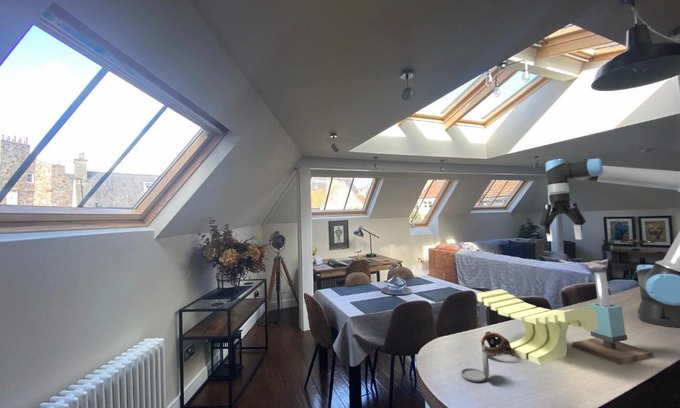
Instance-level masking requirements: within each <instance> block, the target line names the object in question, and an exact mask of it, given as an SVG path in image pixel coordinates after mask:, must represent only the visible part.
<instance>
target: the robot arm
mask: <svg viewBox="0 0 680 408" xmlns="http://www.w3.org/2000/svg"><path fill="white" fill-rule="evenodd" d="M545 174H546V175H545V177H546V182H547V189H548V192H547V193H548V194H549V195H548V197H549V198H548V199H549V203H550V204H549V203H548V204H544V205H543V206H544V207H543V208H544V210H543V213H542V215H541V218H540V221H539V225H540V226H542V227H543V228H544V232H545V233H544V234H546V239H547V242H554V241H555V240H554V238H555V237H554V231H553V226H551V225H552V223H553V222H554V220H555V219H556V217H557V216H558V215H560V214H562V215H566V216H567V217H568V219H570V220H571V221H572V222H573V230H574V237H575V240H583V234H582V233H583V226H582V225H585V223H587V222H586V219H585V218H584V216H583V214H582V212H581V211H580V209H579V208H578V203H576V202H572V203H570V202H571V195H570V193H569V192H570V187H569V180H573V179H576V180H577V181H580V182H598V183H608V184H617V185H625V186H627V185H628V186H636V187H644V188H645V187H647V188H655V189H663V190H672V191H677V192H678V193H680V170H679V171H677V170H676V171H675V170H667V169H666V170H664V169H653V168H639V167H626V166H625V167H624V166H613V165H612V166H610V165H603V163H602V159H601V158H598V157H597V158H589V159H584V160H577V161H571V162H566V160H565V159H563V158H559V159H557V158H556V159H552V160H551V159H550V160H548V161H546V163H545ZM635 271H636V273H637V274H636V275H637V279H638V280H637V281H638V288H639V294H640V304H639V306H638V310H637V318H639V319H638V320H640V321H643V322H644V321H645V323H648V324H652V325H657V326H661V327H664V326H665V327H670V326H671V328H672V327H673V328H680V230H679V231H678V233H677V235H676V236H675V238H674V240H673V242H672V244H671V245H670V247H669V249H668V251H667V253H666V254H665V256H664V258H663V259H662V260H658V261H655V262H654V263H653V264H638V265H637V266H636V270H635Z"/></svg>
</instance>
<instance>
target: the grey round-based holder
mask: <svg viewBox="0 0 680 408" xmlns="http://www.w3.org/2000/svg"><path fill="white" fill-rule="evenodd" d="M485 346H486V343H484V346H483V352H482V370H483V371H482V370H480V369H478V368H471V367H470V368H463V369H462V370H461V371H460V373H461V377H463V378H464V379H465V380H467V381H470V382H475V383H480V382H484V381H486V380H487V378H489V376H490V368H489V367H490V365H489V355H487V352H486V351H485Z"/></svg>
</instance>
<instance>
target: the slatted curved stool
mask: <svg viewBox="0 0 680 408" xmlns="http://www.w3.org/2000/svg"><path fill="white" fill-rule="evenodd" d="M476 297H477V298H476V299H477V302H479V303H483V306H486V307H490V310H491V311H495V312H497V313H498V314H497V315H500V316H504V317H506V318H507V317H508V318H509V317H510V319H515V320H519V321H521V322H522V324H523V326H524V328H525V329H524V330H525V331H524V334H523V336H522V337H521V338H519V339H517V340H515V341H513V342H510V346H511V348H512V350H513V351H514V356H516V357H519V358H522V359H524V360H528V361H529V362H531V363H532V362H533V364H537V365H539V366H543V365H545V364H548V363H551V362H553V361H556V360H558V358H559V359H562V358H564V357H566V356H567V353H568V351H567V350H568V349H567V332H568V329H569V326H573V327H576V328H581V327H582V329H584V330H586V331H588V332H590V333H591V331H594V330H597V329H598V322H597V315H596V312H595V309H594V308H593V307H592V306H588V305H584V306H583V307H577V308H575V309H574V308H573V309H566V310H563V309H562V310H559V309H557V310H555V309H550V308H549V309H548V308H544V307H540V306H539V307H537V306H536V305H534V304H530V303H527V302H525V301H524V300H523V299H520V298H518V297H517V296H516V295H513V294H511V293H510V292H509V291H507V290H504V289H494V290H487V291H482V292H478V293H476ZM506 353H508V354H511V353H510V352H508V351H506ZM550 361H551V362H550Z"/></svg>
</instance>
